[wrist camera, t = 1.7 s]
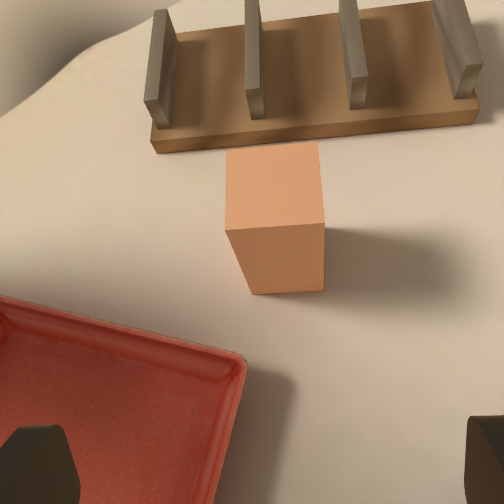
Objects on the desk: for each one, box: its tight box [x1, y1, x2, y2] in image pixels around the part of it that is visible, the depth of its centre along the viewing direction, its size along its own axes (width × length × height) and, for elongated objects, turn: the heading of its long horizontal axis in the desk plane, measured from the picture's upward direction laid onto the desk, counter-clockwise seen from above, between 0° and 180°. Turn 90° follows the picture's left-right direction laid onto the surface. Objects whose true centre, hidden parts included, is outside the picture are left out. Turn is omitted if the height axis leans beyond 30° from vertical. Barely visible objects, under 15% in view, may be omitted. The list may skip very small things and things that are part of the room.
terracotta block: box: [225, 141, 325, 295], centre depth 25 cm, size 4×4×9 cm
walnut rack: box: [144, 0, 483, 154], centre depth 33 cm, size 23×11×4 cm, turn 91°
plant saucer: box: [0, 295, 248, 504], centre depth 24 cm, size 18×18×3 cm
